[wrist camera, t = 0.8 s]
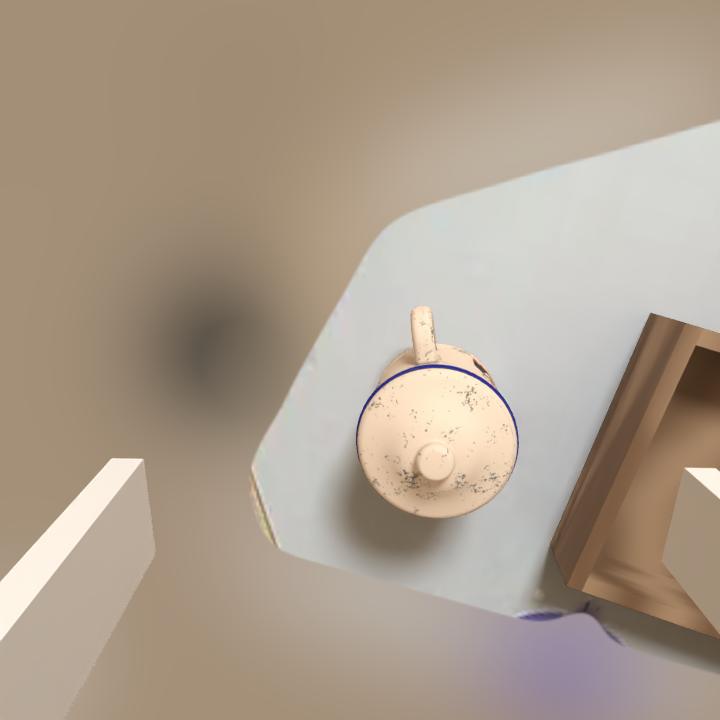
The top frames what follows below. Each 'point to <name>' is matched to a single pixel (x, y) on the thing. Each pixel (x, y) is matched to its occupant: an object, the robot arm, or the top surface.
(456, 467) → the teacup with lid
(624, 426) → the walnut box
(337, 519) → the top surface
